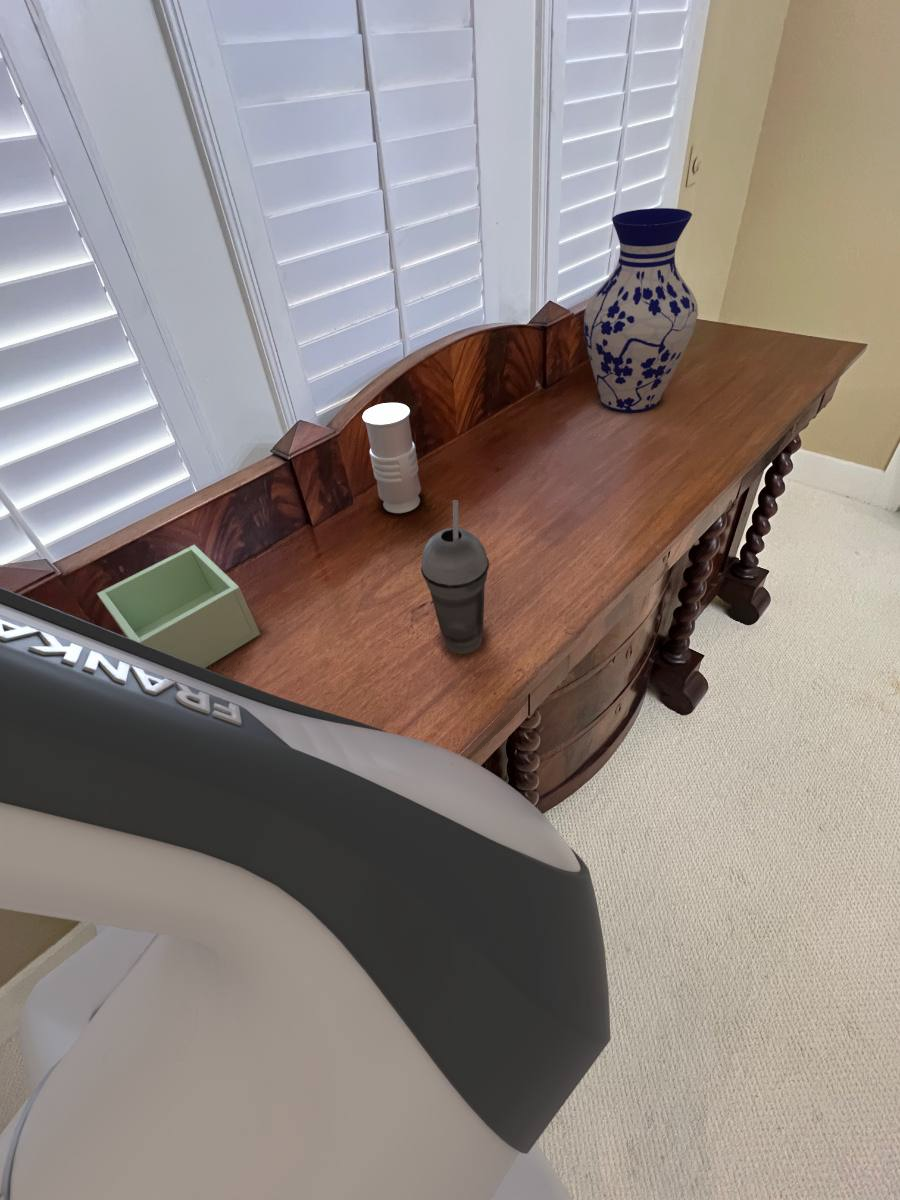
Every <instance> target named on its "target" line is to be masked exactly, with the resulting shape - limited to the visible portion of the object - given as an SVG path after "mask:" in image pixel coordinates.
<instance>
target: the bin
mask: <svg viewBox="0 0 900 1200" xmlns="http://www.w3.org/2000/svg"><path fill="white" fill-rule="evenodd" d="M96 595H97V596H98V598H99V599H100V601H101V602H102V604H103V605H104V607H105V608H106V609H107V611H108V613H109V615H110V616H111V617H112V619H113V620H114V622H115V624H117V626H118V627H119V629H120V630H121V632H122V633H123V636H124V637H127V638H129V639H132V640H134V641H137V642H139V643H142V644H144V645H147V646H149V647H152V648H154V649H157V650H159V651H162V652H165V653H167V654H170V655H172V656H175V657H177V658H180V659H182V660H185V661H187V662H190V663H192V664H195V665H197V666H200V667H202V668H205V669H207V667H209V666H211V665H212V664H214V663H216V662H217V661H220V659H222V658H224V657H225V656H228V655H229V654H231V653H232V652H234V651H235V650H237V649H239V648H240V647H242V646H244V645H245V644H247V643H249V642H251V641H252V640H253V639H255V638H257V637H258V636H260V635H261V632H260V631H259V630H260V629H259V628H258V626H257V623H256V620H255V619H254V616H253V614H252V611H251V610H250V608H249V606H248V604H247V603H248V602H247V601H246V599H245V597H244V595H243V592H242V590H241V588H240V587H239V585H238V584H237V583H236V582H235V581H233V580H232V579H231V578H230V577H229V575H227V574H226V573H225V572H224V571H223V570H222V569H220V567H219V566H218V565H216V563H214V561H212V559H211V558H209V556H207V555H206V554H205V553H204V552H203V551H202V550H201V549H200V548H199V547H198V546H196V544H193V545H190V546H188V547H186V548H185V549H182V550H181V551H179V552H177V553H175V554H172V555H170V556H168V557H166V558H165V559H163V560H161V561H158V562H157V563H155V564H153V565H150V566H148V567H147V568H144V569H143V570H141V571H139V572H136V573H135V574H133V575H131V576H129V577H127V578H125V579H123V580H121V581H118V582H117V583H115V584H113V585H110V586H109V587H107V588H104V589H103V590H101V591H99V592H96Z"/></svg>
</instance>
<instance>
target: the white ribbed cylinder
mask: <svg viewBox="0 0 900 1200" xmlns="http://www.w3.org/2000/svg"><path fill="white" fill-rule="evenodd" d="M410 415H411V410H410V408H409V407H408V406H407V405H406V404H404V403H401V402H400V403H399V402H386V403H380V404H376V405H374V406H372V407H369V408H368V409H366V410H365V411H364V412H363V414H362V421H363V422H364V424H365V426H366V432H367V436H368V441H369V442H368V443H369V447H370V449H369V451H368V452H369V457H370V462H371V465H372V466H371V467H372V471H373V477H374V479H375V480H376V485H377V494H378V497H379V499H380V500H382V501H383V503H382V505H383V508H384V509H385V510H386V511H387V512H389V513H393V514H403V513H407V512H411V511H413V510H415V509H416V508H417V507H418V506H419V505H420V503H421V498H420V496H419V495H420V493H421V491H422V487H421V483H420V479H419V475H418V473H419V471H420V470H419V465H418V464H419V463H418V457H417V456H418V455H417V452H416V448H417V447H416V443H414V441H413V436H412V430H411V423H410V418H409V417H410Z"/></svg>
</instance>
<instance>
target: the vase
mask: <svg viewBox="0 0 900 1200" xmlns="http://www.w3.org/2000/svg"><path fill="white" fill-rule="evenodd" d="M692 217H693V214H692V212H691V211H690V210H686V209H683V208H675V207H674V208H673V207H672V208H671V207H654V208H653V207H652V208H642V209H634V210H628V211H624V212H620V213H617V214H615V215H614V216H613V217H612V218H611V221H612V225H613V227H614V229H615V232H616V235H617V238H618V241H619V257H618V261H617V265H616V266H615V267H614V270H613V271H612V273H611V274H610V275H609V277H608V278H607V279H606V280H605V281H604V283H603V284H601V286H600V287H599V288H598V289H597V290H596V291H595V293H594V294H593V295H592V296H591V298H590V299H589V301H588V302H587V305H586V307H585V310H584V314H583V332H584V338H585V343H586V348H587V353H588V357H589V360H590V365H591V370H592V373H593V377H594V380H595V381H594V382H595V385H596V388H597V393H598V396H599V402H600V403H601V404H600V405H602V406H603V407H604V408H606V409H609V410H611V411H615V412H619V413H627V414H628V413H630V414H631V413H641V412H646V411H650V410H651V409H652V410H653V408H656V406H658V405H659V403H660V401H661V398H662V397H663V395H664V393H665V392H666V389H667V387H668V385H669V383H670V381H671V380H672V378H673V376H674V374H675V371H676V369H677V367H678V366H679V363H680V362H681V360H682V358H683V356H684V353H685V352H686V350H687V348H688V344H689V343H690V341H691V338H692V337H693V334H694V331H695V328H696V324H697V320H698V316H699V307H698V306H699V305H698V303H697V299H696V297H695V295H694V293H693V292H692V290H691V289H690V287H689V285H688V284H687V282H685V280H684V279H683V277H682V276H681V274H680V272H679V270H678V267H677V265H676V258H675V256H676V248H677V244H678V241H679V239H680V237H681V235H683V232H684V231H685V228H686V227H687V226H688V223H690V220H691V218H692Z"/></svg>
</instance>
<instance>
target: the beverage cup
mask: <svg viewBox="0 0 900 1200" xmlns="http://www.w3.org/2000/svg"><path fill="white" fill-rule="evenodd" d="M487 554H488V553H487V552H486V549H485V547H484V545H483V543H482V541H481V540H480V539H479V538H478V537H477V536H476V535H475V534H473V533H472V532H470V531H468V530H466V529H464V528H461V527H460V528H459V501H458V500H452V527H449V528H444V529H442V530H440V531H438V532H437V533H435V534H434V535H432V536H431V537H430V538H429V540H428V541H427V542H426V545H425V546H424V548H423V552H422V557H421V568H420V573H421V575H422V578H423V579H424V580H425V581H424V582H425V583H426V586H427V589H428V590H429V593H430V597H431V600H432V604H433V607H434V610H435V614H436V618H437V622H438V626H439V629H440V633H441V636H442V638H443V640H444V644H445V647H446V648H447V649H448V650H449V651H450V652H452V653H455V654H460V655H462V654H463V655H466V654H469V653H472V652H474V651H477V649H479V647H481V645H482V642H483V633H484V612H485V589H486V588H485V586H486V582H487V578H488V570H489V568H490V561H489V557H488V555H487Z"/></svg>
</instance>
